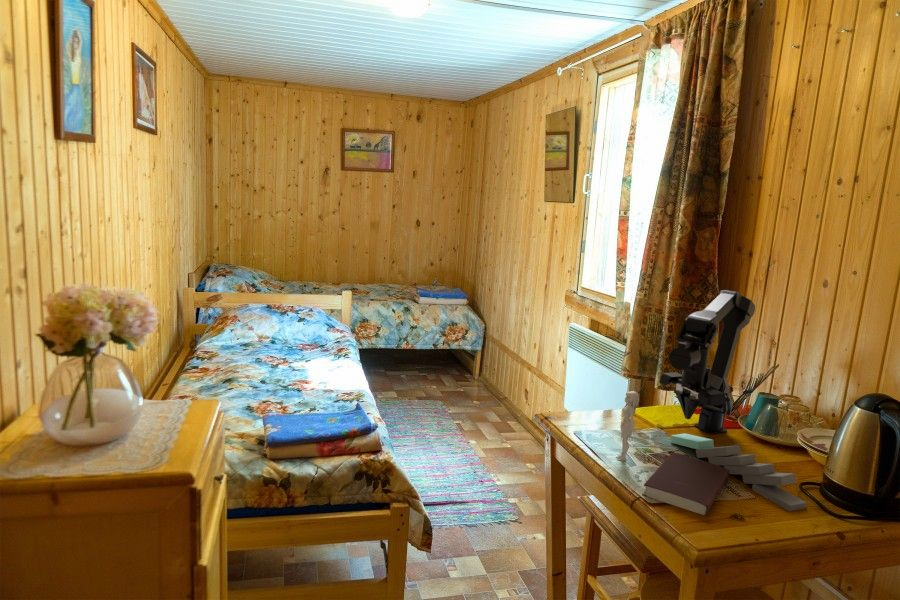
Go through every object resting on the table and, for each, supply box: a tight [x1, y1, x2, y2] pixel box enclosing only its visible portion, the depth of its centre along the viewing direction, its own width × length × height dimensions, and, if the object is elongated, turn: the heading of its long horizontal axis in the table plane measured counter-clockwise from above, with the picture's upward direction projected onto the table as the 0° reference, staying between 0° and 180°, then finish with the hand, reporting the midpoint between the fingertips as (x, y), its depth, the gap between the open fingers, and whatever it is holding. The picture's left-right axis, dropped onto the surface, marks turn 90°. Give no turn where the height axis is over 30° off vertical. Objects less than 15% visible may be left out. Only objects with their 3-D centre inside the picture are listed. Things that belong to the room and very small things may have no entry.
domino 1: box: [695, 444, 743, 459], centre depth 157 cm, size 5×2×10 cm
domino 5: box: [751, 484, 807, 512], centre depth 141 cm, size 5×2×10 cm
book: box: [641, 451, 730, 517], centre depth 144 cm, size 14×22×4 cm, turn 145°
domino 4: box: [741, 472, 797, 487], centre depth 145 cm, size 5×2×10 cm
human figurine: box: [615, 390, 640, 462], centre depth 156 cm, size 12×4×18 cm, turn 175°
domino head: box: [670, 433, 714, 450], centre depth 166 cm, size 5×2×10 cm
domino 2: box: [707, 454, 757, 466], centre depth 153 cm, size 5×2×10 cm
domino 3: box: [723, 462, 776, 476], centre depth 149 cm, size 5×2×10 cm
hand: (687, 418), depth 167 cm, fingers closed
